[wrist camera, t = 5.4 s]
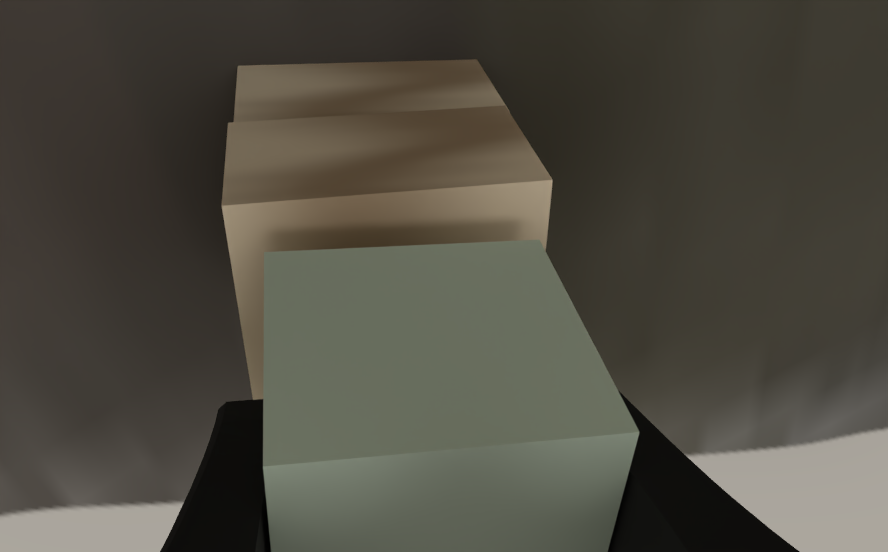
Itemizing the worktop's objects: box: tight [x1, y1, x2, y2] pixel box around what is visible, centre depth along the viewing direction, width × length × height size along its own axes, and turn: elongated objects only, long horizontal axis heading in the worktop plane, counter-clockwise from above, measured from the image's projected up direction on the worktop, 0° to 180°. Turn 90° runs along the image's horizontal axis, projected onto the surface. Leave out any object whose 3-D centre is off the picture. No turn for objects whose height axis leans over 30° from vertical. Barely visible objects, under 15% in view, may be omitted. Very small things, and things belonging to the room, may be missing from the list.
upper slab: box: [222, 106, 553, 400], centre depth 15 cm, size 5×5×3 cm
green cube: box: [263, 240, 639, 552], centre depth 11 cm, size 4×4×4 cm
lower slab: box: [234, 59, 510, 122], centre depth 17 cm, size 5×5×3 cm
